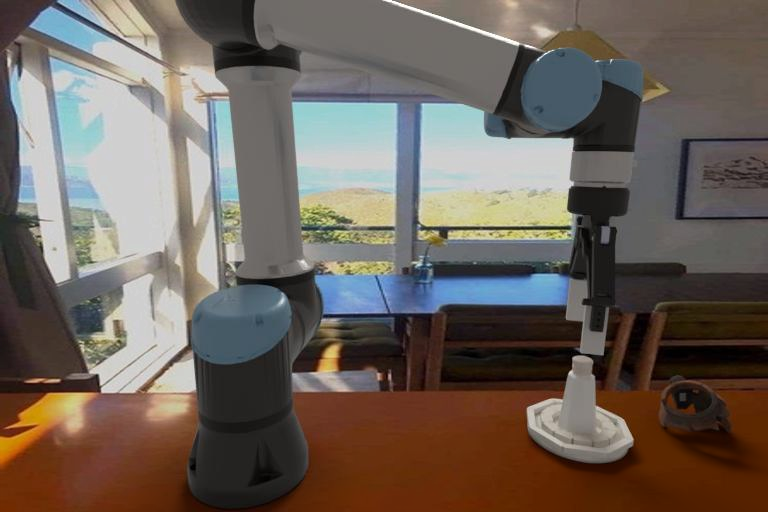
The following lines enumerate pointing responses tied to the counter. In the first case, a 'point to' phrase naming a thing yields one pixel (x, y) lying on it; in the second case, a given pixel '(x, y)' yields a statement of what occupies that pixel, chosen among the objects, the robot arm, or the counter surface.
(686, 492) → the counter surface
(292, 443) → the robot arm
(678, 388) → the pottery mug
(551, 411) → the dish
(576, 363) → the pepper shaker
